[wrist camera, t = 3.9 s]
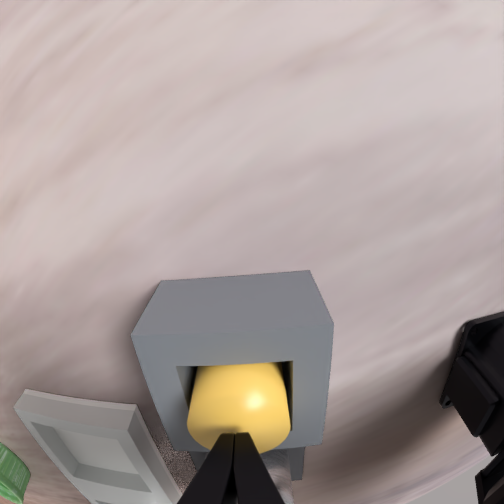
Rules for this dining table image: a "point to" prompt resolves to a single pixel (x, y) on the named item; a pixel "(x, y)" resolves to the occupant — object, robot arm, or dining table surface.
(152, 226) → the dining table surface
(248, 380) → the button
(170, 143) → the dining table surface
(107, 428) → the white parts tray
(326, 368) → the button housing
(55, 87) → the dining table surface
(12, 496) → the ramekin
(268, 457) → the loose billet
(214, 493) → the robot arm
